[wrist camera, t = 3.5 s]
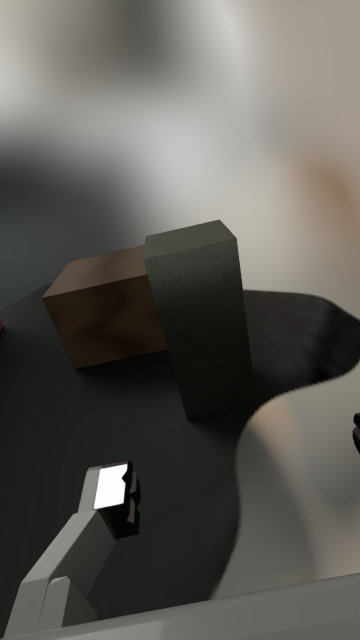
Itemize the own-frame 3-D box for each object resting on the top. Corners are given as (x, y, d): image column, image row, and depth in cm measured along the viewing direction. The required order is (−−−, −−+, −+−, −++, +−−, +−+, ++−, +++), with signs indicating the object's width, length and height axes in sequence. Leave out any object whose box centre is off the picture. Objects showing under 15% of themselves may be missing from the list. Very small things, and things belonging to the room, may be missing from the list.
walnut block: (75, 370, 31) (41, 297, 27) (92, 321, 40) (69, 262, 36) (174, 348, 31) (154, 272, 27) (170, 304, 40) (154, 242, 36)
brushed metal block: (187, 420, 22) (143, 259, 17) (182, 375, 27) (145, 236, 21) (257, 406, 22) (236, 238, 16) (240, 363, 27) (219, 219, 21)
